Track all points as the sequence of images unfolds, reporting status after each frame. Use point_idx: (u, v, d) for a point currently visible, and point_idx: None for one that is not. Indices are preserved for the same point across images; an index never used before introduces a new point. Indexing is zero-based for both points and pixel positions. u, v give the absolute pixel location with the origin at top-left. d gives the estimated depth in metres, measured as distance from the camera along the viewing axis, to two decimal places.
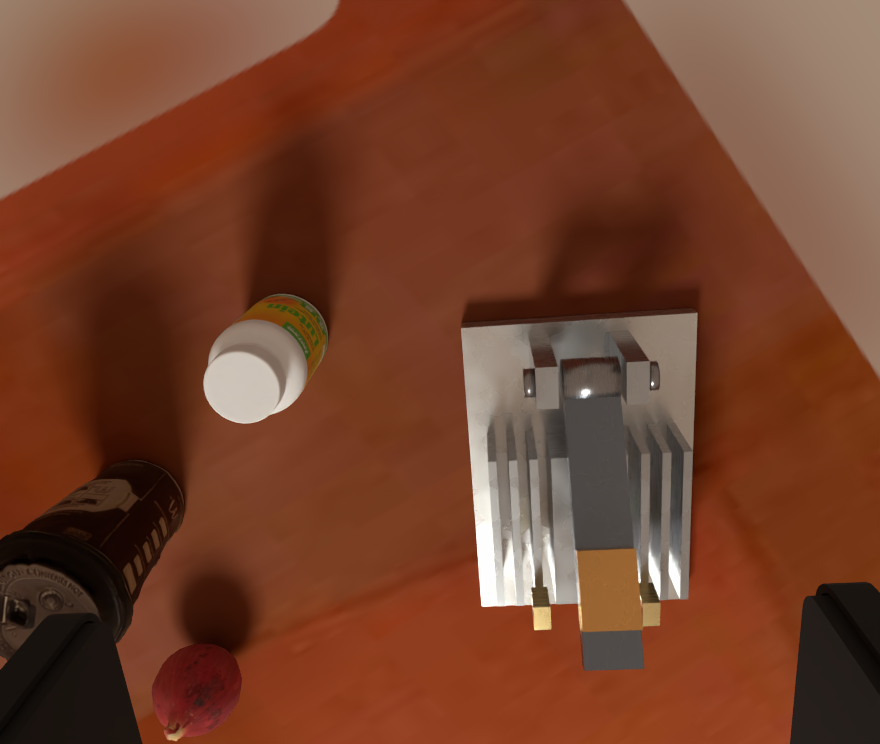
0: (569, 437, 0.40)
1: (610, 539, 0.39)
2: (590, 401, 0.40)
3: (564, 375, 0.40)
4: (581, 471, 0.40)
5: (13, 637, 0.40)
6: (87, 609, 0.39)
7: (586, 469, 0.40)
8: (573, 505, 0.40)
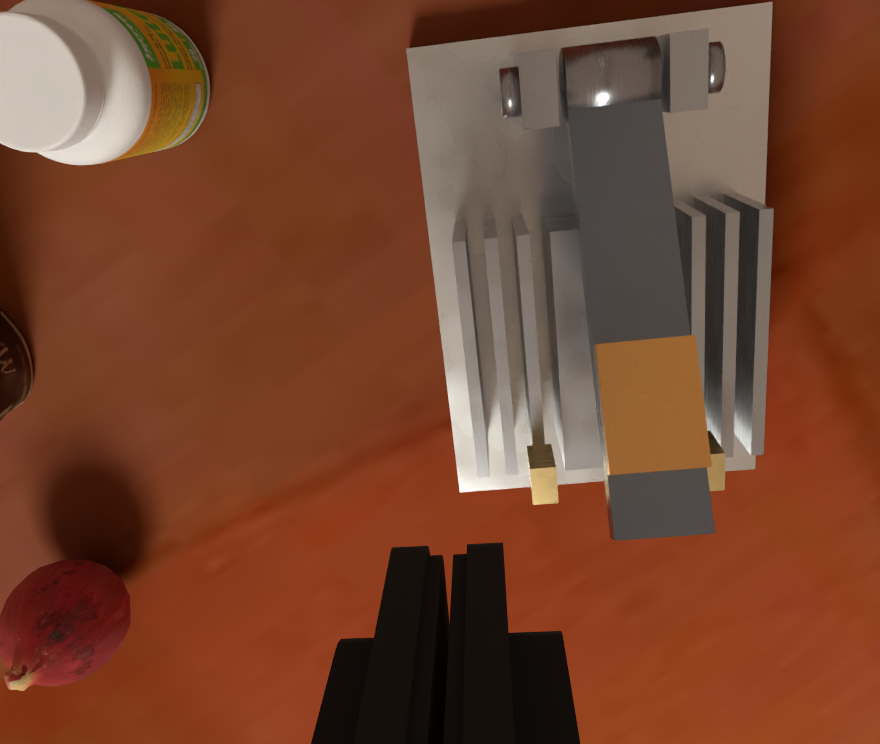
0: (578, 168, 0.24)
1: (650, 326, 0.24)
2: (610, 109, 0.25)
3: (566, 64, 0.24)
4: (599, 221, 0.24)
5: None
6: None
7: (607, 217, 0.24)
8: (587, 276, 0.24)
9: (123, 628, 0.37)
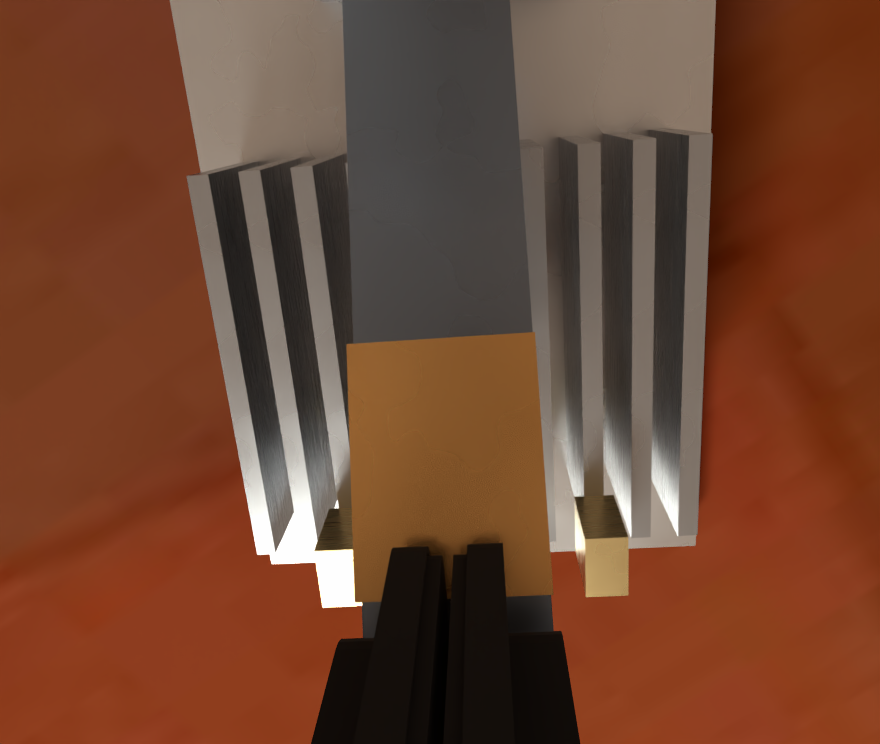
0: (349, 27, 0.13)
1: (461, 316, 0.13)
2: None
3: None
4: (381, 121, 0.13)
5: None
6: None
7: (395, 115, 0.13)
8: (353, 219, 0.13)
9: None
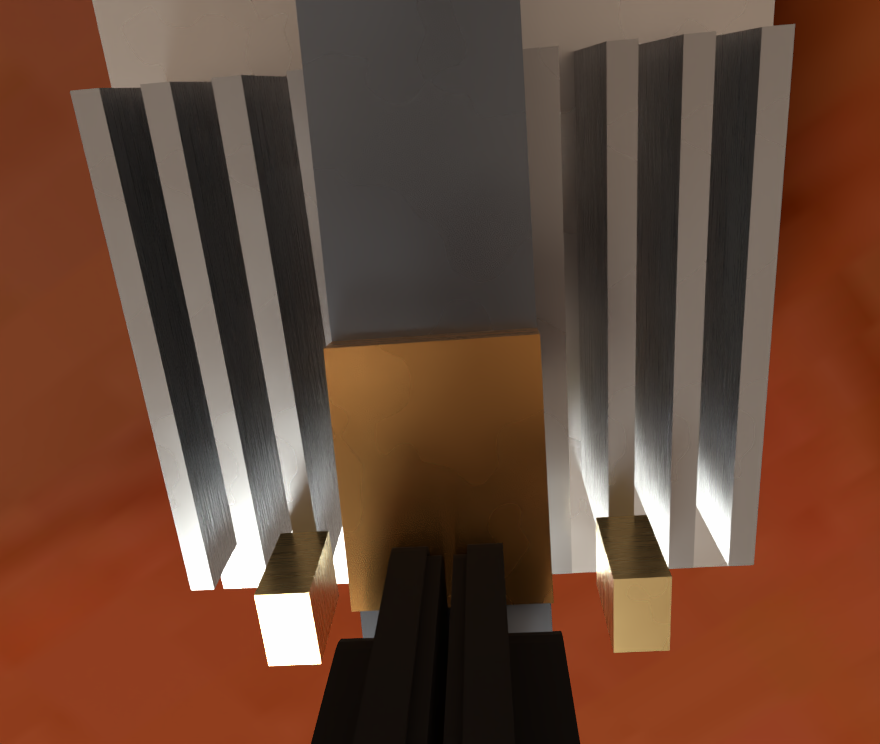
0: None
1: (453, 301, 0.11)
2: None
3: None
4: (346, 44, 0.10)
5: None
6: None
7: (364, 35, 0.10)
8: (319, 180, 0.11)
9: None
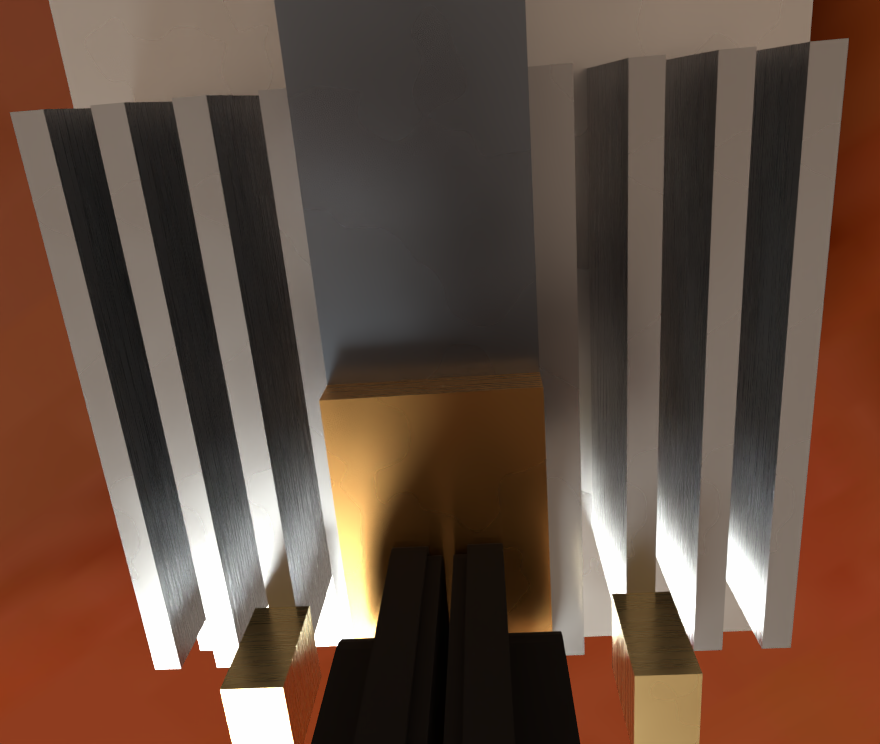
0: None
1: (453, 345, 0.10)
2: None
3: None
4: (335, 75, 0.09)
5: None
6: None
7: (354, 66, 0.09)
8: (309, 221, 0.10)
9: None
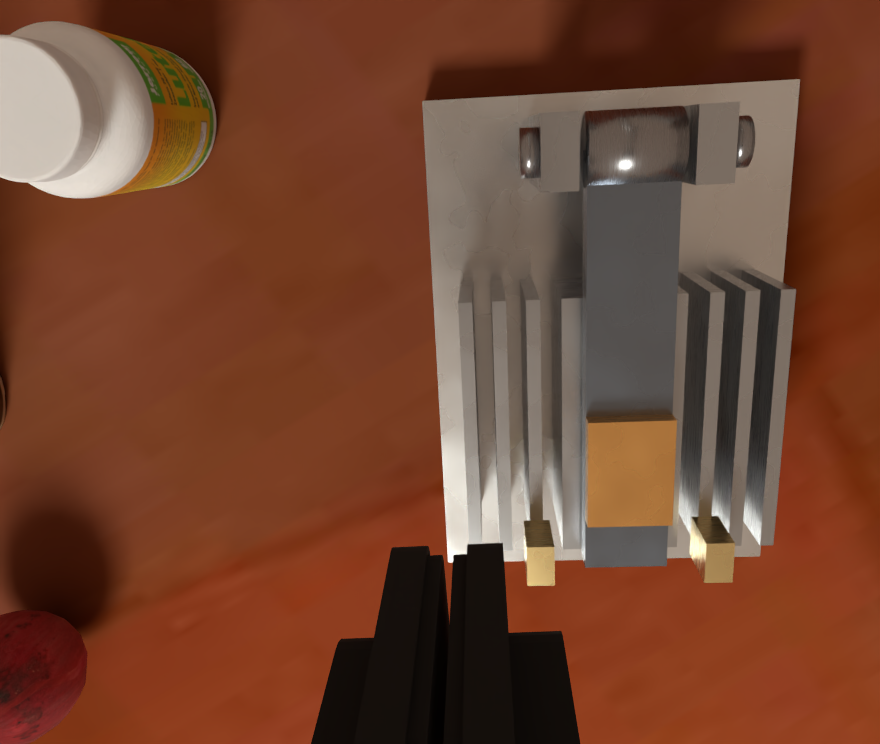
0: (590, 249, 0.25)
1: (639, 402, 0.26)
2: (630, 189, 0.24)
3: (591, 146, 0.23)
4: (605, 303, 0.25)
5: None
6: None
7: (613, 300, 0.25)
8: (587, 354, 0.26)
9: (77, 689, 0.35)
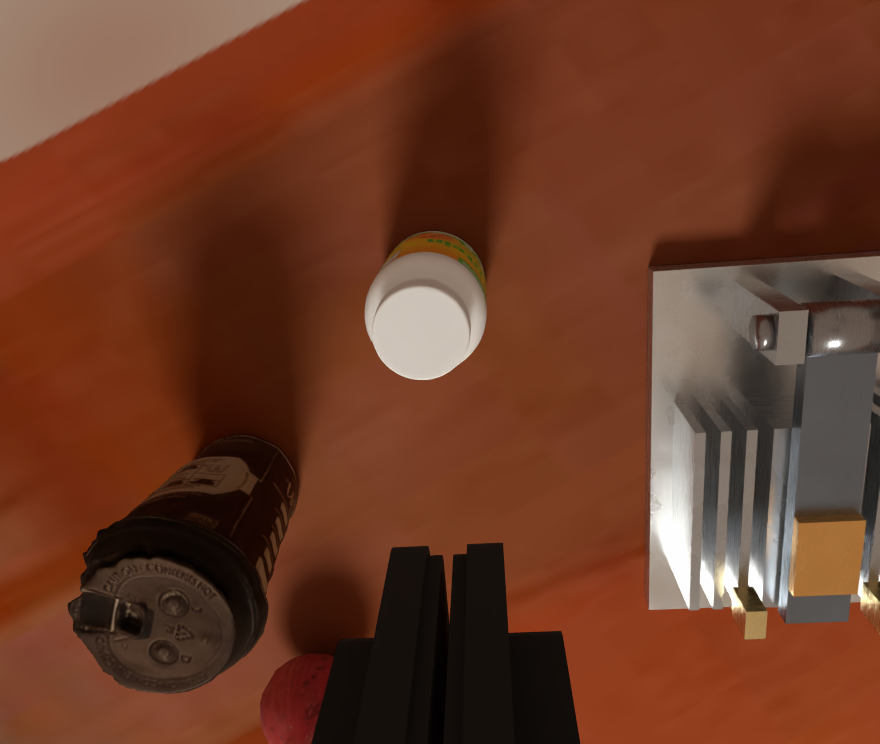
0: (806, 400, 0.33)
1: (835, 506, 0.35)
2: (839, 359, 0.33)
3: (816, 334, 0.32)
4: (814, 437, 0.34)
5: (123, 650, 0.32)
6: (219, 614, 0.31)
7: (820, 435, 0.34)
8: (798, 472, 0.35)
9: None
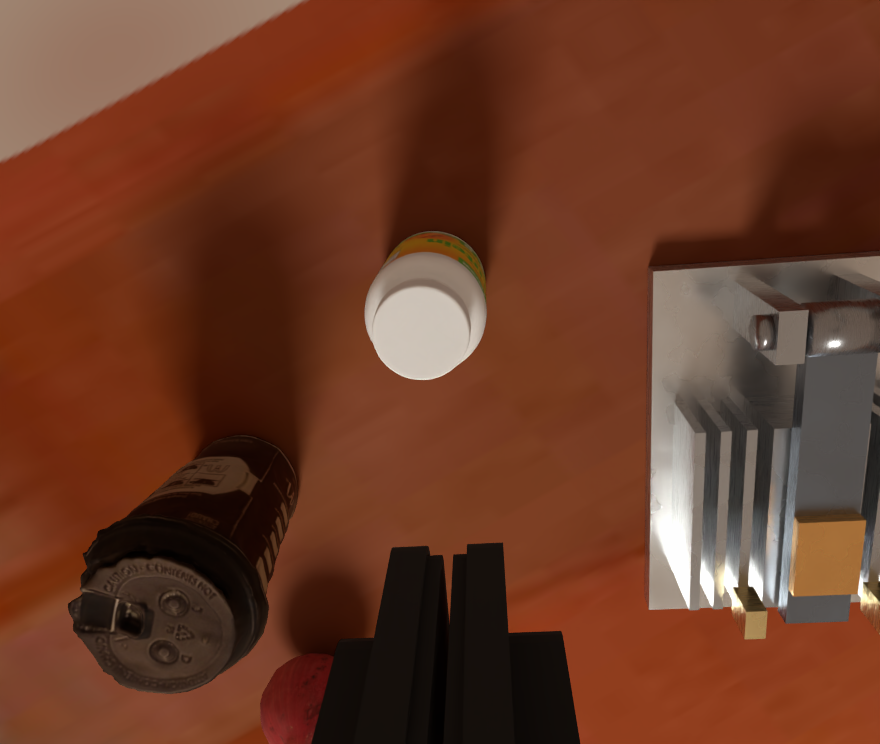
0: (806, 400, 0.34)
1: (835, 506, 0.35)
2: (839, 359, 0.33)
3: (816, 334, 0.32)
4: (814, 437, 0.34)
5: (123, 650, 0.32)
6: (219, 614, 0.31)
7: (820, 435, 0.34)
8: (798, 472, 0.35)
9: None
